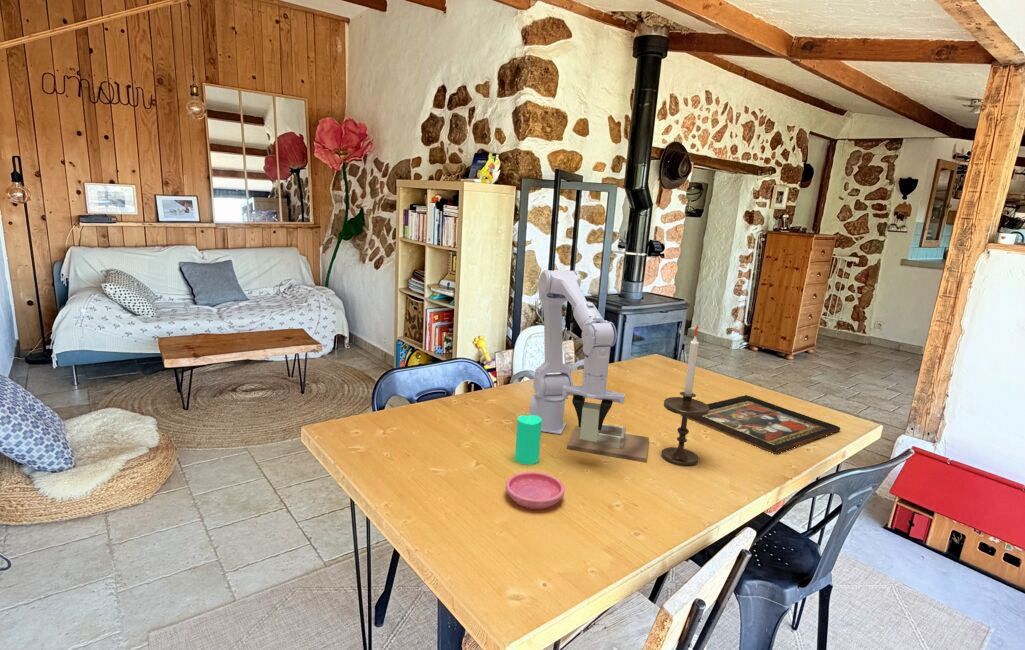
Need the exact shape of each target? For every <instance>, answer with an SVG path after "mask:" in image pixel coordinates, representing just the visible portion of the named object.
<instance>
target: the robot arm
mask: <svg viewBox="0 0 1025 650" xmlns="http://www.w3.org/2000/svg"><path fill="white" fill-rule="evenodd" d="M581 282H582V280H581V276H580V274H579V272H578V270H576V269H575V270H548V269H544V270H543V271H542V272H541V273H540V276H539V278H538V300H539V301H540V302H542V303H543V327H544V328H543V331H544V332H543V335H544V336H543V337H544V338H543V339H544V340H543V341H544V362H543V363H542V364H541V365H539V366H538V367H537V368H536V369H535V371H534V379H533V391H534V394H533V395H532V396H531V400H530V402H529V411H528V412H529V413H528V416H529V415H535V416H539V417H540V418H541V419H542V423H541V432H544V433H550V434H555V435H562V434H563V432H564V430H565V429H566V426H567V423H566V422H564V417H565V407H566V406H565V404H566V400H567V399H569V396H572V400H571V402H572V405H573V407H574V409H575V412H576V416H577V422H578V426H579V427H581V419H582V408H583V405H584V403H585V402H586V399H592V400H599V401H601V402H600V404H601V405H600V419H599V425H598V430H601V429H602V424H604V421H605V418H606V417H607V415H608V413H609V411H610V410H611V408H612V405H613V403H617V404H620V405H624V404H625V398H626V394H625V393H620V392H618V391H617V392H616V391H613V390H609V389H607V387H608V386H607V384H608V373H609V364H610V354H611V348H612V347H614V346H615V344H616V343H617V335H618V334H617V329H616V326H615V325H614V323H613V322H612V321H608V320H605V318H603V316H602V315H601V313H600V312H599V310H598V309H597V307H596V305H595V304H594V303H593V302H591V301H587V299H586V296H585V295H584V293H583V291H582V289H581V285H582V283H581ZM565 302H569V304H570V305H571V307H572V308H573V312H572V313H573V318H574V320H575V321H576V323H577V324H578V326H579V328H580V330H581V340H582V353H583V354H584V359H583V367H582V368H583V371H582V378H581V379H582V382H581V384H582V385H581V386H580V385H579V386H578V385H577V386H576V385H574V381H573V377H572V369H571V368H570V367H569V366H567V364H565V363H564V359H563V357H564V354H563V353H564V352H563V348H564V347H563V305H564V304H565Z"/></svg>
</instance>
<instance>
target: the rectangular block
mask: <svg viewBox="0 0 1025 650" xmlns="http://www.w3.org/2000/svg"><path fill="white" fill-rule="evenodd" d="M600 405H601V403H595V402H590V401H589V402H588V401H585V403H584V405H583V408H582V419H581V430H580V439H583V440H589V441H595V442H597V439H598V436H599V430H598V425H599V419H600Z"/></svg>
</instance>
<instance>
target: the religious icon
mask: <svg viewBox="0 0 1025 650" xmlns="http://www.w3.org/2000/svg"><path fill="white" fill-rule="evenodd" d="M706 404H707V405H708V406H709V408H710V409H709V413H708V414H707V415H705V416H688V419H687V420H690V421H693V422H694V421H695V422H694V423H696V424H699V425H702V426H703V427H704V426H705V427H706V428H709V429H711V430H714V431H716V432H719V433H722V434H724V435H725V436H729V437H731V438H734V439H736V440H739V441H740V442H743V443H745V444H748V445H750V444H751V445H750V446H753V447H755V446H756V447H755V448H757V447H758V448H757V449H759V448H760V450H762V451H764V450H765V452H767V451H768V453H769V452H771V453H770V454H772V453H773V455H775V454H776V455H779V454H778V453H780V454H782V453H784V452H783V451H785V452H787V451H786V450H788V451H790V450H789V449H791V450H793V449H795V448H794V447H796V446H799V445H801V446H803V445H802V444H804V445H806V444H805V443H807V442H809V443H811V442H810V441H812V440H815V439H817V440H819V439H818V438H820V437H823V436H825V437H827V436H826V435H828V436H830V435H829V434H831V433H834V432H836V433H839V432H840V430H841V427H840V426H837V425H836V424H833V423H830V422H826V421H823V420H821V419H818V418H814V417H812V416H809V415H806V414H802V413H799V412H797V411H793V410H791V409H787V408H784V407H782V406H779V405H777V404H774V403H770V402H768V401H765V400H762V399H760V398H757V397H753V396H750V395H747V394H746V395H740V396H737V397H733V398H729V399H724V400H719V401H716V402H710V403H706ZM838 431H839V432H838ZM834 434H835V433H834ZM831 435H832V434H831ZM823 438H824V437H823ZM820 439H821V438H820ZM815 441H816V440H815ZM812 442H813V441H812ZM807 444H808V443H807ZM799 447H800V446H799ZM792 448H793V449H792ZM796 448H797V447H796ZM781 452H782V453H781Z"/></svg>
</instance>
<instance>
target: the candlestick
mask: <svg viewBox="0 0 1025 650" xmlns="http://www.w3.org/2000/svg"><path fill="white" fill-rule="evenodd" d="M698 330H699V325H698V323H697V324H696V327H695V329H694V331H693V333H694V334H693V335H694V337H693V339H692V340H690V345H689V353H688V358H687V359H688V360H687V368H686V375H685V384H684V390H683V391H680V392H679V395H681V396H672V397H668V398H667V397H666V398H665V399H664V401H663V407H664V409H666V410H667V411H669V412H671V413H674V414H676V415H677V414H678V415H680V416H681V423H680V427H677V430H676V431H677V433H678V437H676V441H678V444H677V445H678V446H677V447H675V446H673V447H672V446H671V447H670V446H669V447H665V448H663V449H662V450H661V454H660V456H661V458H662V459H663V460H664V461H666V462H667V463H669V464H671V465H675V466H681V467H693V466H696V465H697V464H698V463H699V456H698V454H696V453H695V452H693V451H691V450H690V449H686V448H685V443H686V442H688V439H687V438H686V436H687V435H688V434H689V433H690V431H689V429H688V427H687V425H688V420H689V419H688V416H705V415H707V414H708V413H709V409H710V408H709V406H708V405H707V404H708V403H705V402H703V401H700V400H699V399H698V400H697V399H694V398H696V397H697V394H695V393H693V389H694V381H695V380H694V379H695V375H696V374H695V373H696V366H697V359H698V351H699V344H700V343H699V341H698V337H697V336H698Z"/></svg>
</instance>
